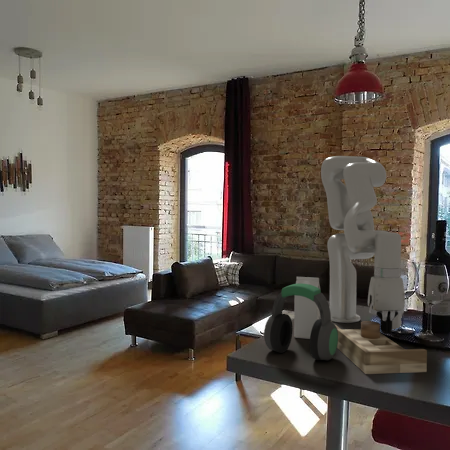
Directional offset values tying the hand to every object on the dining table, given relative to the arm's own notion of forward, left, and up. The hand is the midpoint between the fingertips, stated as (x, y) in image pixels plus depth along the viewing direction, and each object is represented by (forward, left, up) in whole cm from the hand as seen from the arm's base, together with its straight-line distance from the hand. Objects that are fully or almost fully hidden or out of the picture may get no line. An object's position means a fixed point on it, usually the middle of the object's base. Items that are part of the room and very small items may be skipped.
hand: (386, 332), depth 139 cm
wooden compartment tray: (+8, -8, -3) cm, 12 cm away
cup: (-15, +9, -3) cm, 18 cm away
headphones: (+9, -29, -4) cm, 30 cm away
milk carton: (-9, -22, -3) cm, 24 cm away
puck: (0, -5, -1) cm, 5 cm away
